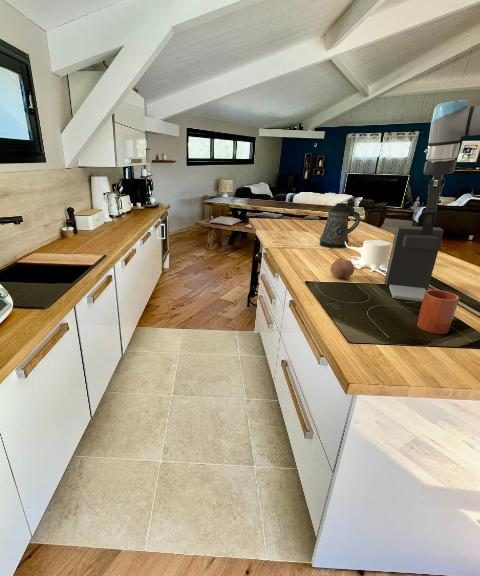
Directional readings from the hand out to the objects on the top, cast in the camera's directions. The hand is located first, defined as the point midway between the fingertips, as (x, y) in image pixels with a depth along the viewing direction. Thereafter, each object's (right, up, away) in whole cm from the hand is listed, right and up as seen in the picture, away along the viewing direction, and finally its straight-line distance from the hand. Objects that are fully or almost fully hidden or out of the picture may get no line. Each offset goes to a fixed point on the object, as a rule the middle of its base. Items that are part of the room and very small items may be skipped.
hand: (428, 228), depth 103 cm
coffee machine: (+7, -21, +19) cm, 30 cm away
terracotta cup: (-4, -32, -7) cm, 33 cm away
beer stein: (+10, +7, +89) cm, 90 cm away
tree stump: (+11, -8, +52) cm, 54 cm away
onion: (-12, -15, +36) cm, 41 cm away
